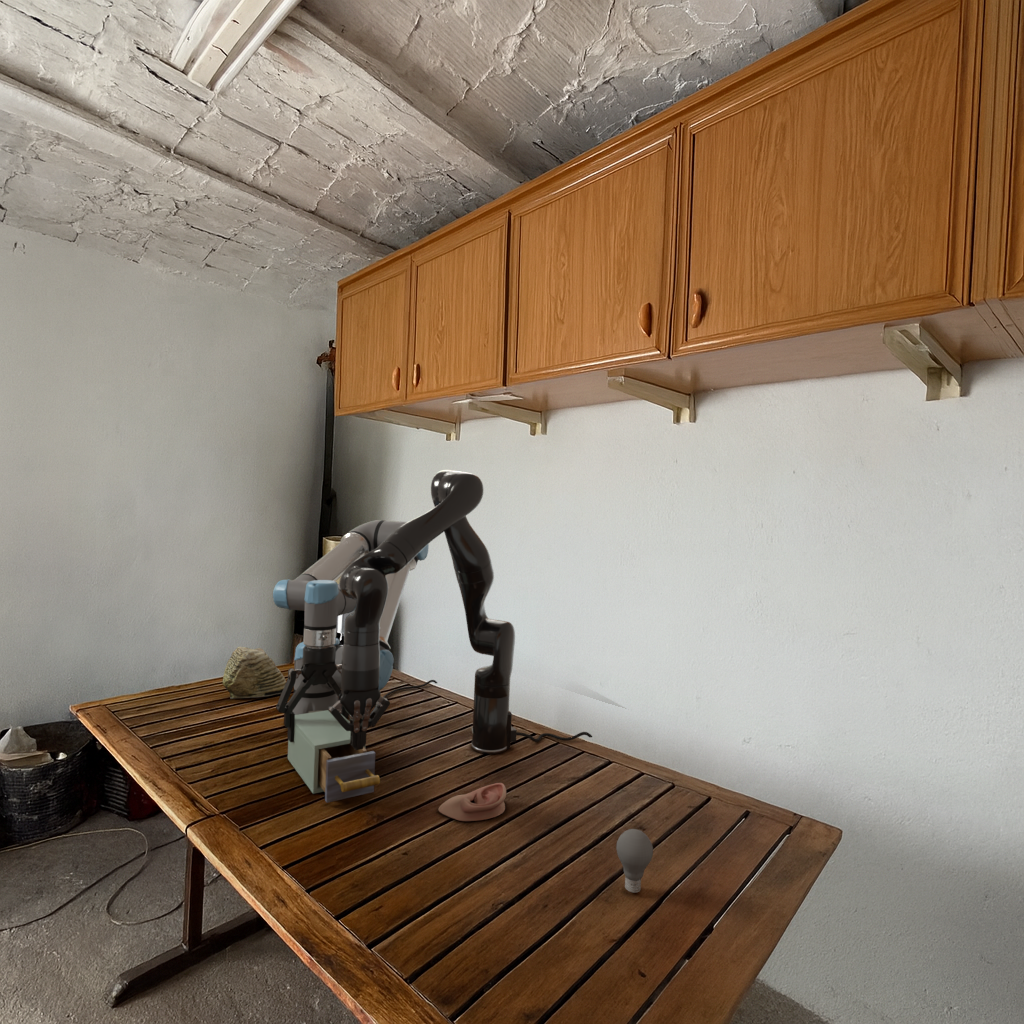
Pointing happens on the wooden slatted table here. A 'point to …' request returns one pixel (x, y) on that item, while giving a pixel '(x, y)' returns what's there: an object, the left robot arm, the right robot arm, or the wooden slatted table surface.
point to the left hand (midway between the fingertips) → (316, 735)
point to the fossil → (252, 674)
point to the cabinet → (314, 743)
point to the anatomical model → (476, 804)
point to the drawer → (346, 772)
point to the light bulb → (634, 857)
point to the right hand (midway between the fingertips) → (358, 748)
